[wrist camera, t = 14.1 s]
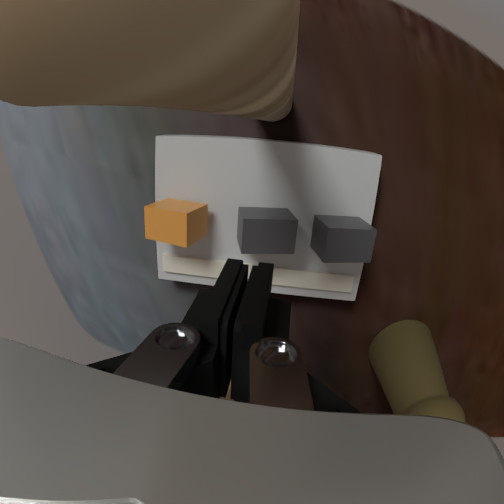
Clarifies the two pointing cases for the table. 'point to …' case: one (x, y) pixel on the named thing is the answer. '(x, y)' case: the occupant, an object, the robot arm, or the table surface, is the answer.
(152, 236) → the orange block
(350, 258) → the grey block
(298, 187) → the panel
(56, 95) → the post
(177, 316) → the table surface
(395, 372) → the cork
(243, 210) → the grey block
